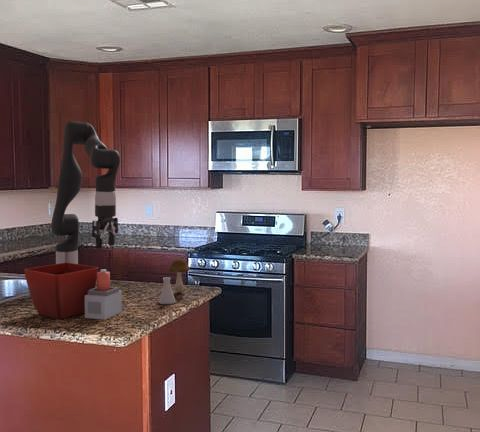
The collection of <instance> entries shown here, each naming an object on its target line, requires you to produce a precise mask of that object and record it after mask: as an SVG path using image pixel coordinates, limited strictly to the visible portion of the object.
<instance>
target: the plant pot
mask: <svg viewBox="0 0 480 432" xmlns="http://www.w3.org/2000/svg"><path fill="white" fill-rule="evenodd" d="M23 271H24V277H25V281H26V285H27V289H28V291H29V295H30V298H31V300H32V302H33V305H34V308H35V310H36V312H37V314H38V315H40V316H45V317H48V318H53V319H56V320H57V319H58V320H62V319H66V318H70V317H73V316H78V315H83V314H85V295H88V290H90V289H93V288H96V286H97V272H99V267H98V266H91V265H87V264H86V265H85V264H79V263H78V264H74V263H59V264H56V263H54V264H49V265H42V266H41V265H40V266H35V267H29V268H25V269H23Z"/></svg>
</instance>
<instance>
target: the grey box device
mask: <svg viewBox="0 0 480 432" xmlns="http://www.w3.org/2000/svg"><path fill="white" fill-rule="evenodd" d="M122 293H123V290H120V288H119V286H118V287H116V286H115V287H114V286H110V290H109V291H97V286H95V288H93V289H90V290H88V295H85V313H84V318H85V319H95V320H107V319H110V318H111V317H112V318H113V317H114V316H117V315H118V314H121V313H122V311H123V310H122V309H123V307H122V306H123V303H122V302H123V301H122V300H123V298H122V296H123V295H122Z"/></svg>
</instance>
